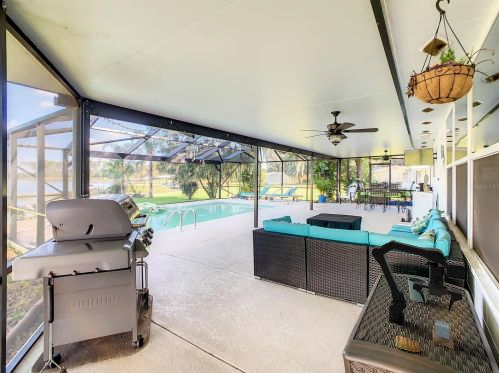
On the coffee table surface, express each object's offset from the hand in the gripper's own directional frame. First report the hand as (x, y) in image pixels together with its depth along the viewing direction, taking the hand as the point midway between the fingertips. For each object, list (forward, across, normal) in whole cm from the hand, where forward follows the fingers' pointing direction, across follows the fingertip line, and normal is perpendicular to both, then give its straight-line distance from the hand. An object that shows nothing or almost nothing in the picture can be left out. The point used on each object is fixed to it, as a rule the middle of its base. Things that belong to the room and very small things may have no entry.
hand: (436, 307), depth 118 cm
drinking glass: (+12, -12, +33) cm, 37 cm away
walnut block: (+12, +2, -8) cm, 15 cm away
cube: (+9, +2, -8) cm, 12 cm away
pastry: (+12, -10, -22) cm, 27 cm away
